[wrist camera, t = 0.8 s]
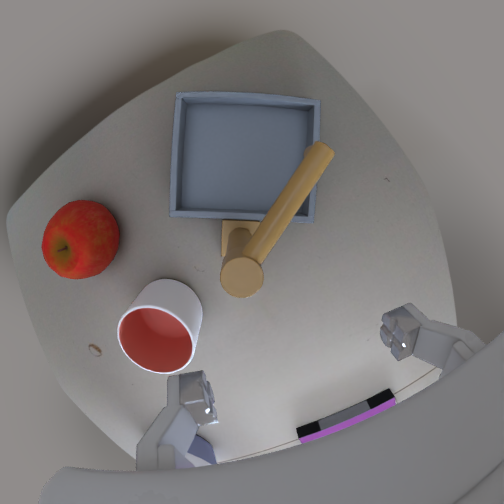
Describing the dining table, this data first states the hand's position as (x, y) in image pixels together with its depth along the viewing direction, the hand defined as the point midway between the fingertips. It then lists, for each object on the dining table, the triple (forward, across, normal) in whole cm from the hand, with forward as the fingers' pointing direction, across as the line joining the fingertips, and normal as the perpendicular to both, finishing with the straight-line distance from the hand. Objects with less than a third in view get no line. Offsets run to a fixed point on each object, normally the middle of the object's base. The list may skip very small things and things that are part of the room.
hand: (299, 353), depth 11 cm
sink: (+30, -4, -4) cm, 30 cm away
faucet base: (+28, -1, +6) cm, 28 cm away
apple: (+31, +20, +1) cm, 37 cm away
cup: (+28, +12, +14) cm, 33 cm away
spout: (+17, -4, 0) cm, 17 cm away
